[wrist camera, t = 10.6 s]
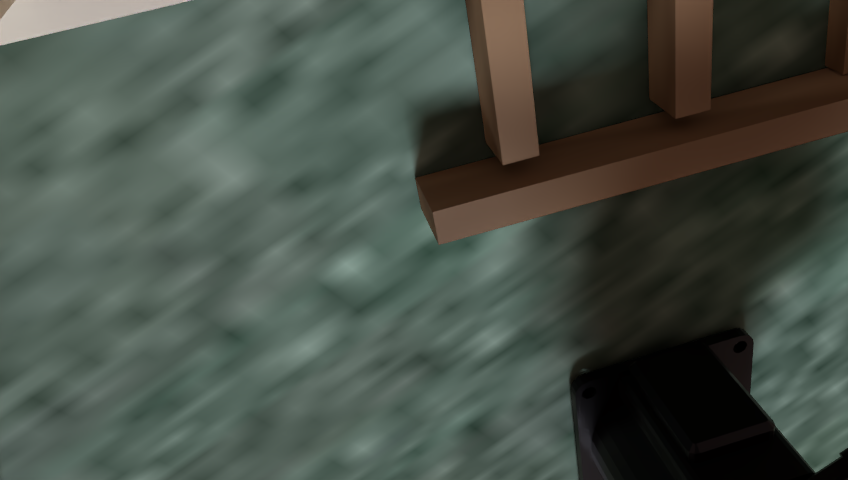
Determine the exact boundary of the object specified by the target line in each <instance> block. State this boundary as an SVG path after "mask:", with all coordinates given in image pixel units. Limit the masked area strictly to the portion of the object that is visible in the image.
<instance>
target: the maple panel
mask: <svg viewBox="0 0 848 480" xmlns="http://www.w3.org/2000/svg"><path fill="white" fill-rule="evenodd" d="M14 2H15V0H0V19H1V18H2V17H3V16H4V14H5V13H6V12H7V11H8V9H9V8H10V7H11V5H12V4H13V3H14Z"/></svg>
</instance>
